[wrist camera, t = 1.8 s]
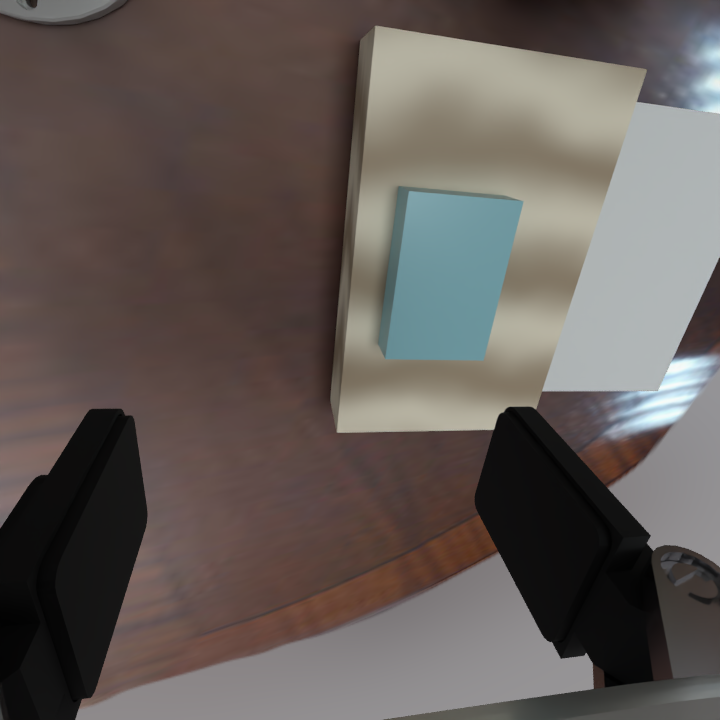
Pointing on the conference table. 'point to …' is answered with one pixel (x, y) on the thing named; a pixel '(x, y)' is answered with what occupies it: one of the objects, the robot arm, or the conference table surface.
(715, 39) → the conference table surface
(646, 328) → the mat
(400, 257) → the blue rectangular block
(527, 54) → the beige flat block
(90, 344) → the conference table surface
